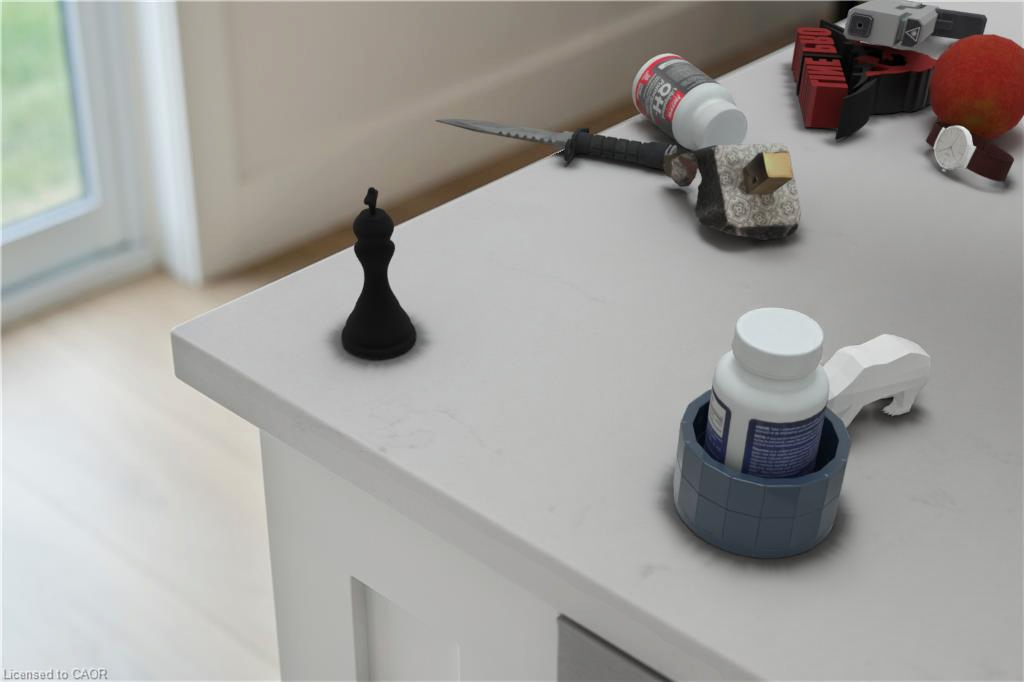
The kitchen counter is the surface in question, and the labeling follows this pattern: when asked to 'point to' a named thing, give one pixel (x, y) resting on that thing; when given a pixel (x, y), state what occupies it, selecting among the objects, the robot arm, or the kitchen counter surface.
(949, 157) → the watch
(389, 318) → the chess piece
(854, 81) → the extruded letter emblem
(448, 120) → the knife
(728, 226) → the grey patterned lump
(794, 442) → the pill bottle
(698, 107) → the pill bottle
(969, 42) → the apple
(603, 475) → the kitchen counter surface
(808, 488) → the bowl
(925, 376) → the white low-poly animal
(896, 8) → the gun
